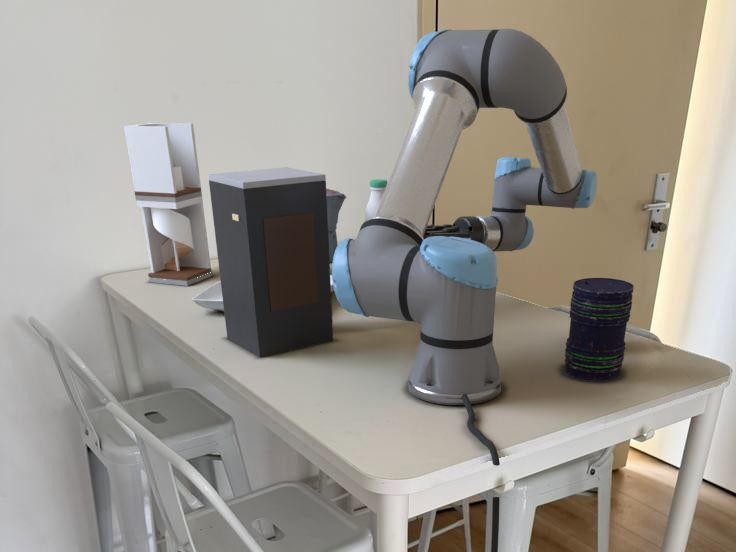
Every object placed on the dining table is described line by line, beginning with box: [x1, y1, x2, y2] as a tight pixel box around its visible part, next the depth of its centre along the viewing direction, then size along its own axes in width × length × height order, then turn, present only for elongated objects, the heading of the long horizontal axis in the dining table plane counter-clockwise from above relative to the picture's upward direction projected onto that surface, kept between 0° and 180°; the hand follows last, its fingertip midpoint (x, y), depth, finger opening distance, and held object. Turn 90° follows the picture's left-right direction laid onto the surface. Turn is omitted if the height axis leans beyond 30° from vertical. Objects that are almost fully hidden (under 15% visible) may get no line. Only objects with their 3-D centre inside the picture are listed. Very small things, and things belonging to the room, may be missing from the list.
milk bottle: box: [364, 178, 388, 221], centre depth 208 cm, size 8×8×20 cm
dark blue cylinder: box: [563, 277, 635, 383], centre depth 130 cm, size 10×10×15 cm
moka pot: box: [326, 188, 347, 263], centre depth 207 cm, size 10×15×20 cm, turn 78°
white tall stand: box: [123, 122, 213, 287], centre depth 186 cm, size 11×11×35 cm
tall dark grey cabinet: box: [207, 167, 334, 358], centre depth 144 cm, size 16×14×30 cm
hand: (388, 237), depth 156 cm, fingers closed on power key, 3 cm apart
